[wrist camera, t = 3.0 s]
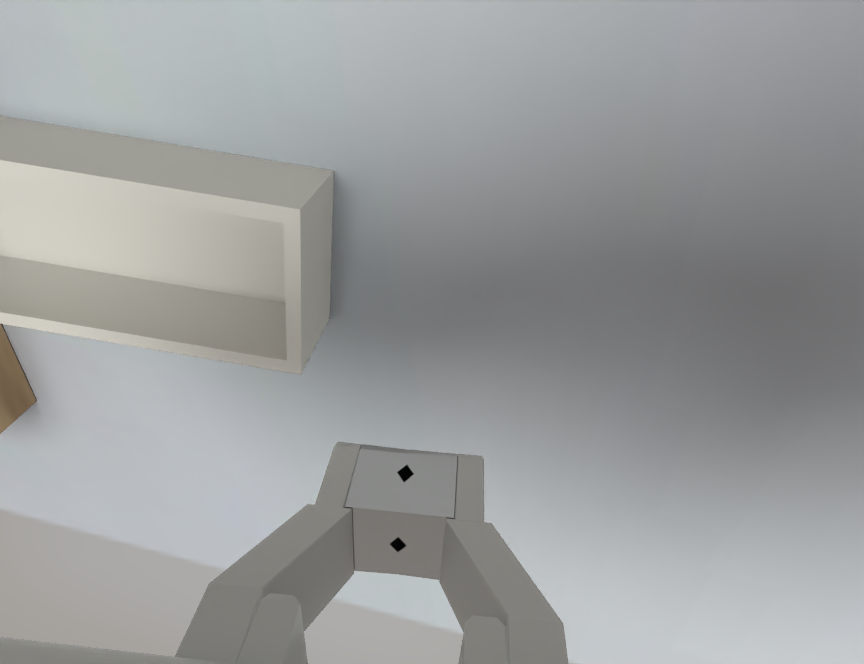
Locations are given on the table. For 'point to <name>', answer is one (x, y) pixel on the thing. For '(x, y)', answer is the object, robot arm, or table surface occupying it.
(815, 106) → the table surface
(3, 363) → the overhang dock
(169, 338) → the white drawer
